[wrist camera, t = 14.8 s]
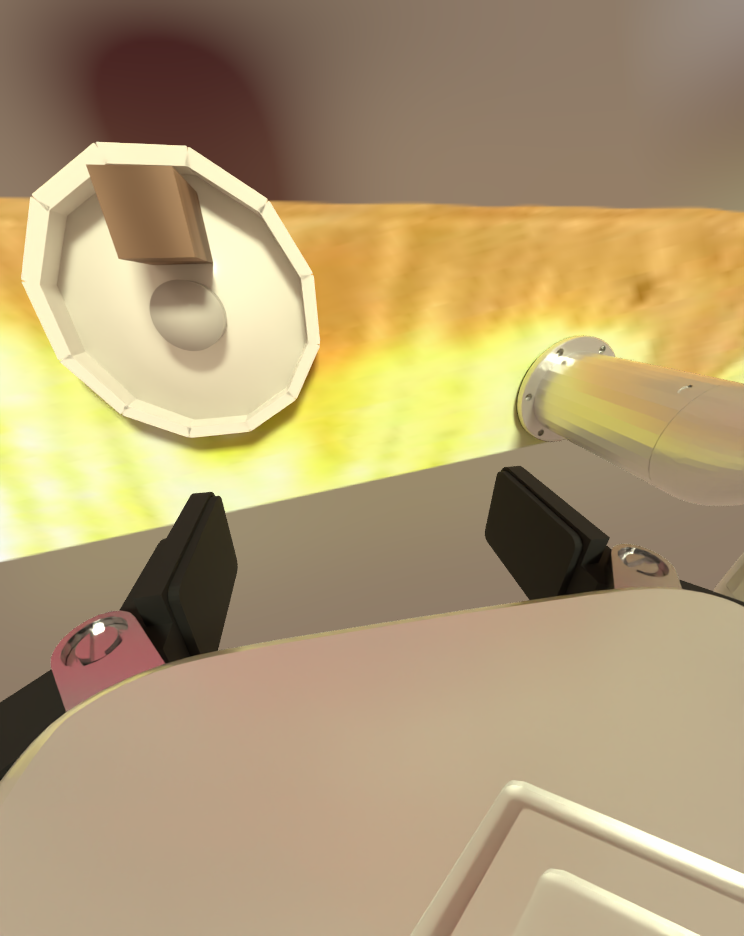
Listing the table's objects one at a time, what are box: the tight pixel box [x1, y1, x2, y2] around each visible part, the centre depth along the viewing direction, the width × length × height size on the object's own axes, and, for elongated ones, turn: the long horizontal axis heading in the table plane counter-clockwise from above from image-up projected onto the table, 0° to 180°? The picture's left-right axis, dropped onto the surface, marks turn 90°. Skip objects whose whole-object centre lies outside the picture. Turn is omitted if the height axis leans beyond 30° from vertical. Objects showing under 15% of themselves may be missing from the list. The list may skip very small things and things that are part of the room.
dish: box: [21, 142, 320, 438], centre depth 27 cm, size 20×20×4 cm
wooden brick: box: [86, 164, 213, 265], centre depth 22 cm, size 4×4×6 cm
